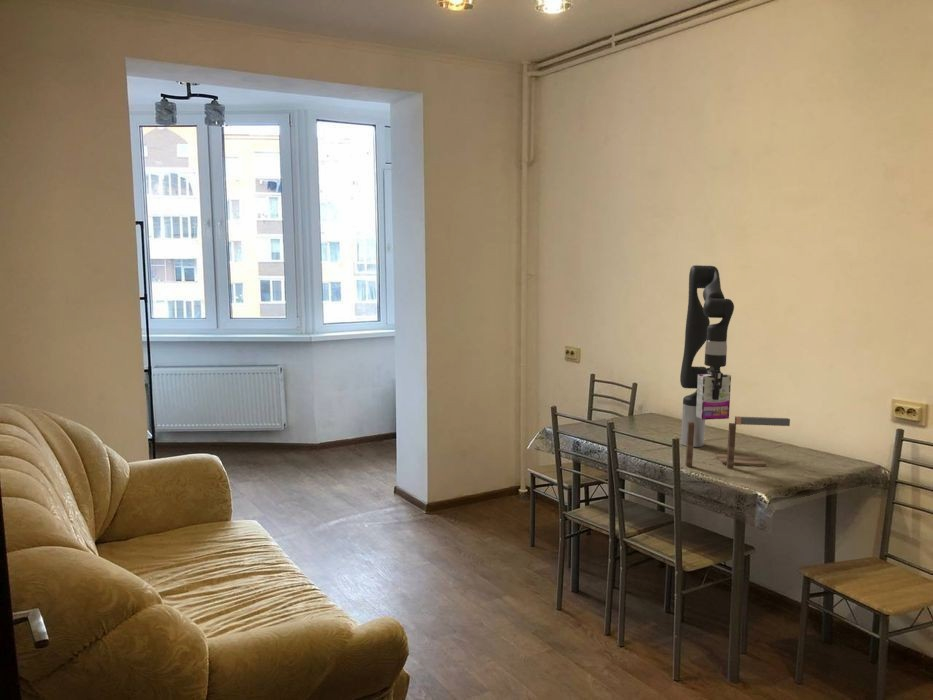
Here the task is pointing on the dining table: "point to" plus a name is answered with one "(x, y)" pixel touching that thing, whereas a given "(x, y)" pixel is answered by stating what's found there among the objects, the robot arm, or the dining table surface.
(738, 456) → the walnut board
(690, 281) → the robot arm
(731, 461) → the posts
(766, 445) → the dining table surface
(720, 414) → the candy bar box
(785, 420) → the bar
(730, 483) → the dining table surface
